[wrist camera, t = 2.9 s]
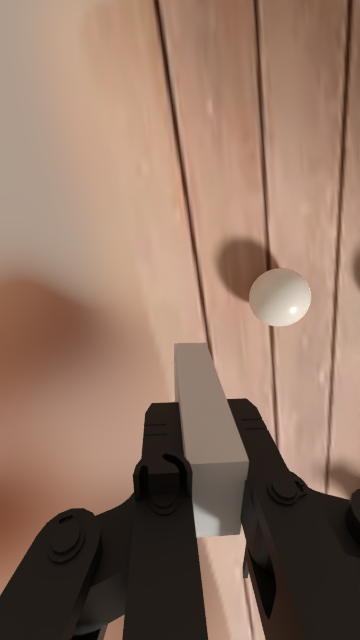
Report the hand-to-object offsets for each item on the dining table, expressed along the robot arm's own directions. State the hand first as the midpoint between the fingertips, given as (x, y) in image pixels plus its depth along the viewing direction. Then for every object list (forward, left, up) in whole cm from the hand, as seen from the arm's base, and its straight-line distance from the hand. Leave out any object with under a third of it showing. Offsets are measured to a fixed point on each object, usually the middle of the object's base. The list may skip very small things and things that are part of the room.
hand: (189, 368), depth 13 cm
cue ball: (-10, 0, -12) cm, 16 cm away
